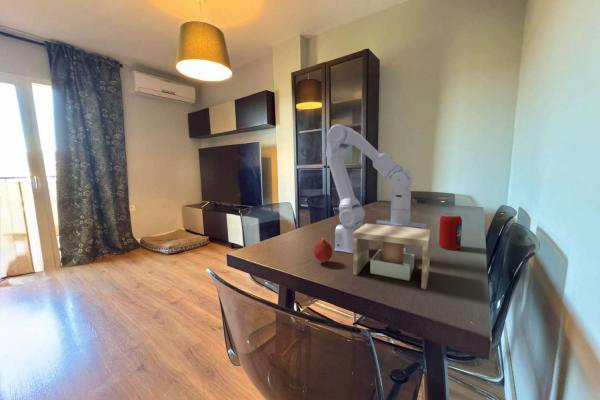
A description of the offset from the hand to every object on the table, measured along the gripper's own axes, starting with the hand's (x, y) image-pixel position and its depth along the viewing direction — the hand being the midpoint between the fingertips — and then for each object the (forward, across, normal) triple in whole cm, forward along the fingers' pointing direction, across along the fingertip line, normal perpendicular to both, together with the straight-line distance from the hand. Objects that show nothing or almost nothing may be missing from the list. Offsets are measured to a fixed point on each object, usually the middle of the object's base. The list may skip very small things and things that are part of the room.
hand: (399, 250), depth 80 cm
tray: (+2, 0, -9) cm, 9 cm away
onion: (+3, -20, -15) cm, 25 cm away
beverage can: (+3, +14, +19) cm, 24 cm away
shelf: (+3, 0, -13) cm, 13 cm away
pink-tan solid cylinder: (+2, 0, -11) cm, 12 cm away
